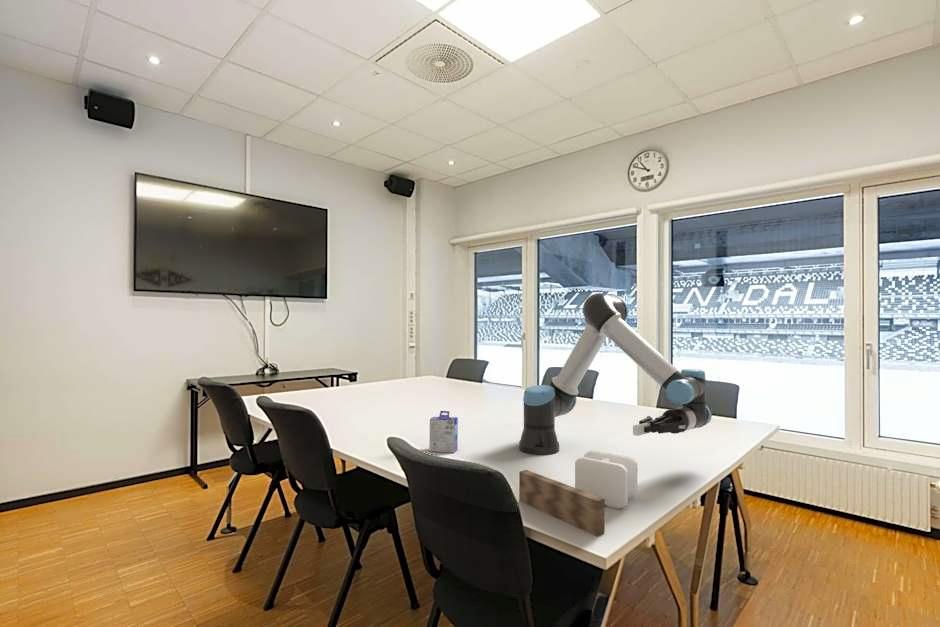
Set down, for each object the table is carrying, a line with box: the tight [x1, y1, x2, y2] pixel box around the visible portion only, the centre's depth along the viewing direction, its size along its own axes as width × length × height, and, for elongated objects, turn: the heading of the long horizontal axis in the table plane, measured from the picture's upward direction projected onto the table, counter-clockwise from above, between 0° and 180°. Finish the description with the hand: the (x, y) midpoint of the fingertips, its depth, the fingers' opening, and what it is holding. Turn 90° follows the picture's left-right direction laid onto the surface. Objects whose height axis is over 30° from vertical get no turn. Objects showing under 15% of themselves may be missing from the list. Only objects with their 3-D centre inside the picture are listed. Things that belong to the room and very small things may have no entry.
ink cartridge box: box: [428, 410, 459, 454], centre depth 178 cm, size 10×6×14 cm, turn 78°
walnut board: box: [518, 469, 606, 537], centre depth 119 cm, size 26×2×8 cm, turn 37°
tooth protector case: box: [574, 450, 638, 510], centre depth 131 cm, size 15×11×12 cm
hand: (635, 430), depth 139 cm, fingers closed
